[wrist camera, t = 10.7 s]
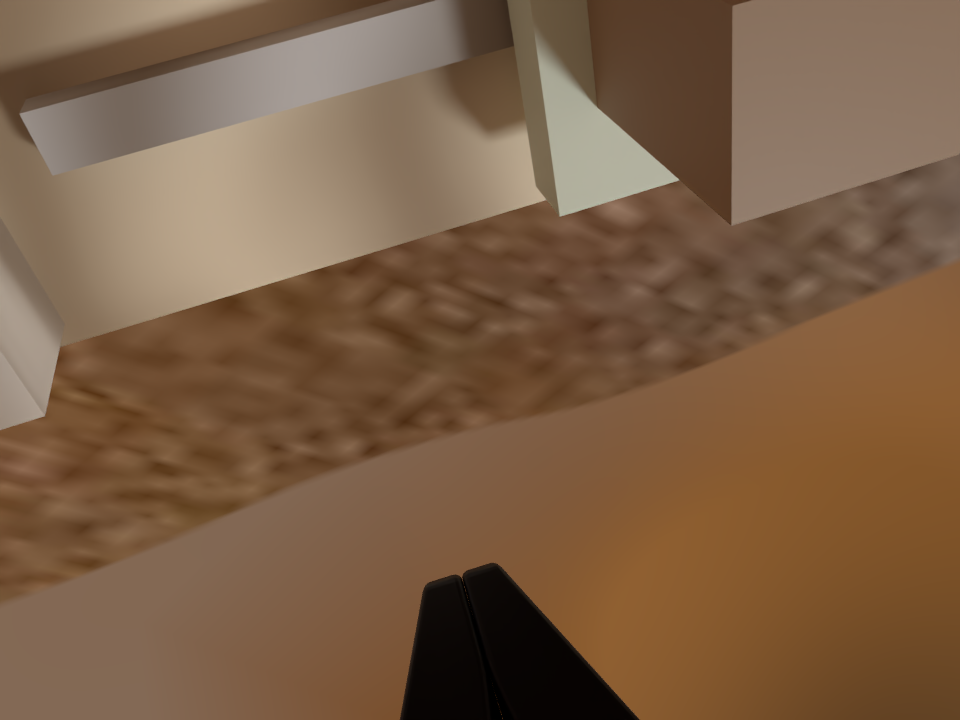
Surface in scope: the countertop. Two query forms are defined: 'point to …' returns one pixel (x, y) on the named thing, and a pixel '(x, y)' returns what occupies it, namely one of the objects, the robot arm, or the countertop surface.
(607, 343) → the countertop surface
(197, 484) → the countertop surface
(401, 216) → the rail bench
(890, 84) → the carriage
